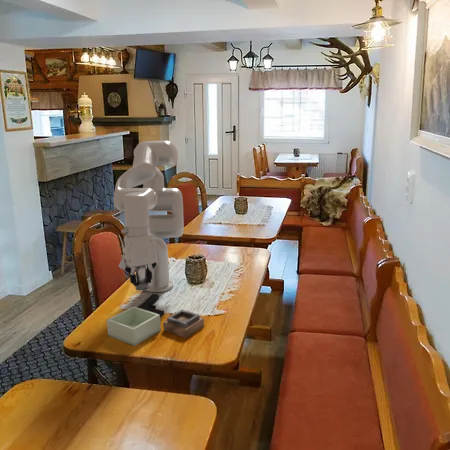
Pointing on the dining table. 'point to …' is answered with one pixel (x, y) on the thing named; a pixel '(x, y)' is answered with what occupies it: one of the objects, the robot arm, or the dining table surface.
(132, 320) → the bin
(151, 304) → the pistol
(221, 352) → the dining table surface
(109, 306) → the dining table surface
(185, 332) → the brown square base
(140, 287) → the light bulb
